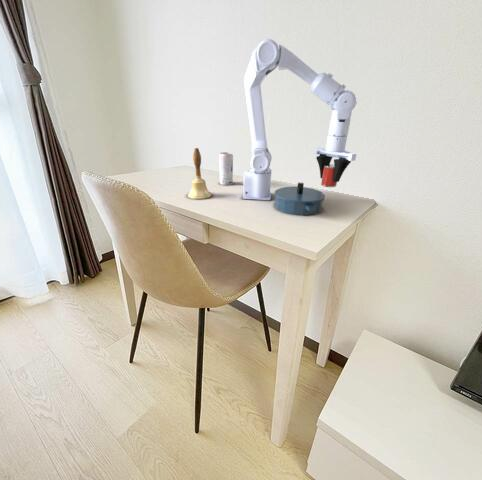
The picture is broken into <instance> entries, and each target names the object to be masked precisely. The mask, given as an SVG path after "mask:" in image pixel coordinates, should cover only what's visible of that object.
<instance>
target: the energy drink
mask: <svg viewBox="0 0 482 480" xmlns="http://www.w3.org/2000/svg"><path fill="white" fill-rule="evenodd" d="M218 161H219V162H218V163H219V165H218V166H219V167H218V169H219V184H220V185H222V186H231V185H233V184H234V156H233V152H229V151H227V152H226V151H225V152H219V154H218Z"/></svg>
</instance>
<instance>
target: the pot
mask: <svg viewBox="0 0 482 480" xmlns="http://www.w3.org/2000/svg"><path fill="white" fill-rule="evenodd" d="M274 205H275V208H276V210H278V211H279V212H282V213H284V214H289V215H295V216H312V215H316V214H319V213H320V212H322V209H323V205H324V200H322V201H319V202H314V203H298V202H291V201H286V200H283V199H280V198H278V197H277V196H276V195H275V203H274Z"/></svg>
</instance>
